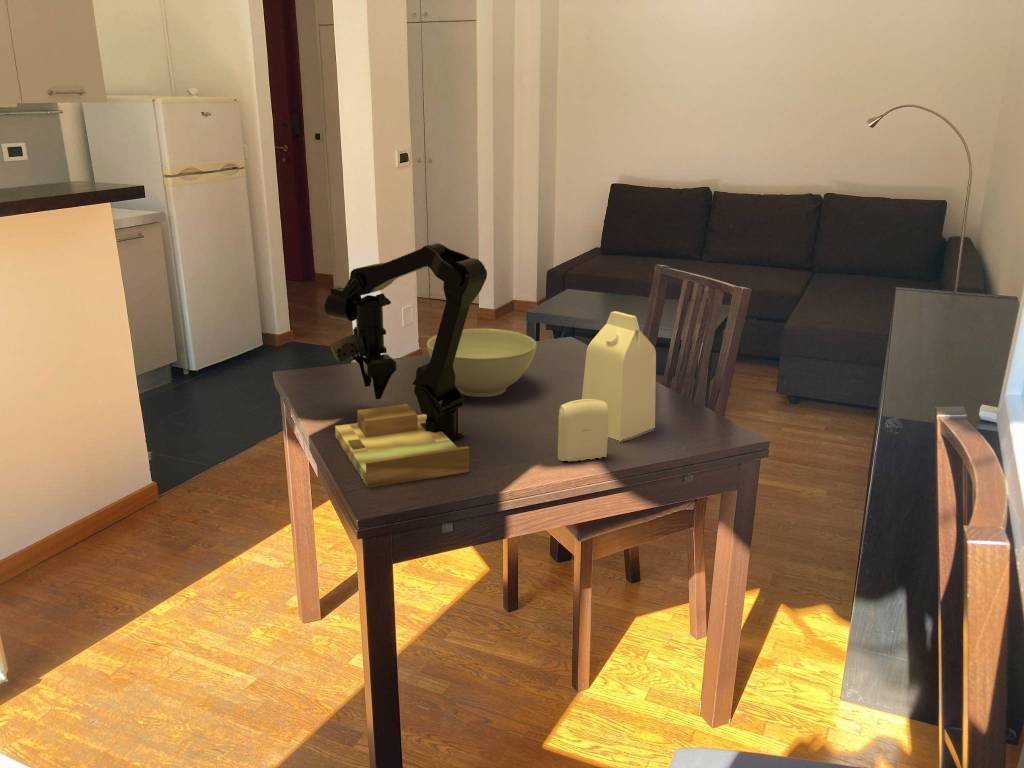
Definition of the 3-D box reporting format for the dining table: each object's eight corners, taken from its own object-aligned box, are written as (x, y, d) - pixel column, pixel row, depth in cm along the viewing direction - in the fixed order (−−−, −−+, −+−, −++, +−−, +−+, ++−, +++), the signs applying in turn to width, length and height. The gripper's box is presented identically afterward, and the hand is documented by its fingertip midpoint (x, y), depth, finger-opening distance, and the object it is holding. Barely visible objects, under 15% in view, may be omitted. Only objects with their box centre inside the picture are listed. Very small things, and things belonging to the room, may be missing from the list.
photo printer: (560, 464, 171) (563, 405, 167) (554, 455, 175) (556, 398, 171) (609, 459, 173) (612, 401, 169) (602, 451, 177) (605, 394, 173)
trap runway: (335, 436, 182) (334, 414, 181) (425, 424, 190) (425, 403, 188) (367, 488, 159) (367, 463, 157) (469, 471, 167) (469, 447, 165)
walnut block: (357, 425, 182) (357, 410, 181) (407, 418, 186) (407, 403, 185) (366, 437, 176) (365, 421, 175) (417, 430, 180) (417, 414, 179)
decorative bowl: (535, 373, 226) (536, 329, 222) (535, 409, 201) (537, 359, 197) (433, 371, 227) (432, 327, 223) (421, 406, 201) (420, 356, 197)
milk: (654, 430, 189) (663, 315, 181) (619, 443, 182) (626, 324, 173) (614, 415, 197) (620, 305, 189) (578, 427, 190) (583, 312, 182)
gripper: (323, 317, 190) (327, 384, 195) (342, 338, 174) (346, 410, 179) (372, 313, 194) (375, 378, 199) (395, 333, 178) (398, 404, 183)
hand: (372, 392), depth 190 cm, fingers open, 9 cm apart
